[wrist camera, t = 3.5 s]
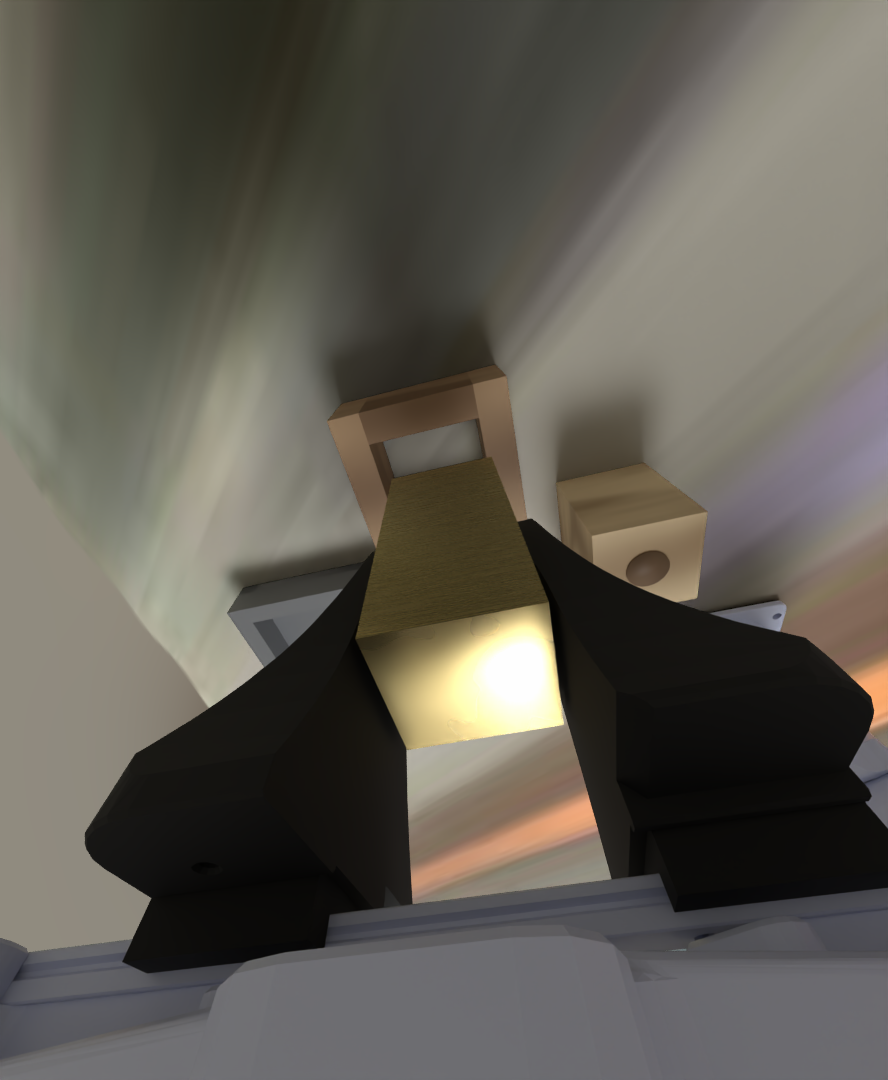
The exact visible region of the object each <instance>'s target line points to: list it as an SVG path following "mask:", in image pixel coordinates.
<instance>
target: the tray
mask: <svg viewBox="0 0 888 1080" xmlns="http://www.w3.org/2000/svg"><path fill="white" fill-rule="evenodd" d="M363 563H364V562H362V563H357V564H353V565H348V566H343V567H339V568H334V569H329V570H325V571H320V572H315V573H311V574H306V575H302V576H297V577H292V578H288V579H283V580H278V581H274V582H269V583H264V584H260V585H255V586H250V587H246V588H243V589H242V591H241V592H240V594H239V595H238V597H237V598H236V600H235V601H234V603H233V605H232V606H231V608H230V609H229V611H228V612H227V614H228V615H229V617H230V618H231V620H232V621H233V623H234V624H235V625H236V627H237V628H238V630H239V631H240V633H241V634H242V636H243V637H244V639H245V640H246V641H247V643H248V644H249V646H250V647H251V649H252V650H253V652H254V653H255V654H256V656H257V657H258V659H259V660H260V662H261V663H262V665H263V666H264V667H265V666H267V665H268V664H269V663H270V662H272V661H273V660H274V659H275V658H276V657H278V656H279V655H280V654H281V653H282V652H283V651H285V650H286V649H287V648H288V647H289V646H290V645H291V644H292V643H293V642H294V641H295V640H296V639H298V638H299V637H300V636H301V635H302V634H303V633H304V632H305V631H306V630H307V629H308V628H309V627H310V626H311V625H312V624H313V623H314V622H315V621H316V619H317V618H318V617H319V616H320V615H321V614H322V613H323V612H324V610H325V609H326V608H327V607H328V606H329V605H330V604H331V603H332V601H333V600H334V599H335V598H336V597H337V596H338V595H339V593H340V592H341V591H342V590H343V588H344V587H345V586H346V585H347V583H348V582H349V581H350V580H351V578H352V577H353V576H354V575H355V573H356V572H357V571H358V569H359V568H360V567H361V566H362V564H363Z"/></svg>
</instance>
